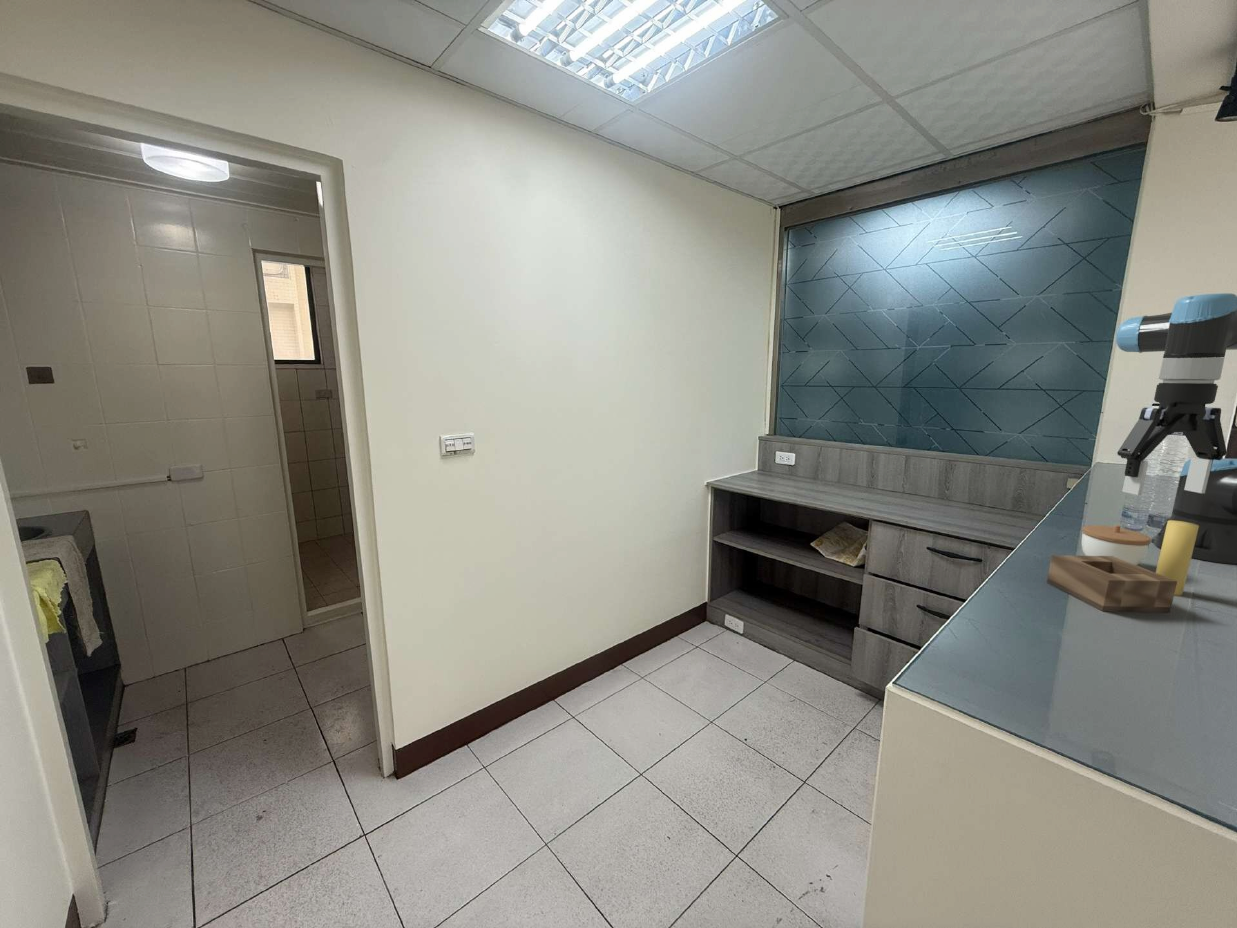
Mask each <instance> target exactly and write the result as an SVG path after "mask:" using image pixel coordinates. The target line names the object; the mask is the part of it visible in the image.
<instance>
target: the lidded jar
mask: <svg viewBox="0 0 1237 928" xmlns="http://www.w3.org/2000/svg"><path fill="white" fill-rule="evenodd" d="M1081 530H1082V531H1081V533H1082V534H1081V549H1082V552H1083V553H1084V556H1113V557H1116V558H1118V559H1121V560H1124V561H1126V562H1129V563H1131V564H1134V565H1136V566H1139V565H1140V563H1142V561H1144V559H1145V557H1146V555H1147V553H1148V551H1149V548H1150V547H1149V546H1150V545H1151V542H1152V538H1151V537H1150V536H1148V535H1147V534H1144V533H1141V532H1138V531H1134V530H1130V529H1126V528H1122V527H1121V525H1119V524H1114V525H1113V526H1108V525H1099V524H1098V525H1095V524H1093V525H1092V524H1091V525H1085V526H1083V527H1082V529H1081Z"/></svg>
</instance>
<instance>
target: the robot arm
mask: <svg viewBox="0 0 1237 928" xmlns="http://www.w3.org/2000/svg"><path fill="white" fill-rule="evenodd" d="M1115 335H1116V338H1115V342H1116V346H1117V347H1118V348H1119V349H1120V350H1121V351H1122V352H1127V353H1138V354H1139V353H1140V354H1141V353H1150V352H1151V353H1152V352H1154V353H1155V352H1164V353H1163V356H1162V362H1161V366H1160V371H1159V375H1158V376H1159V377H1158V379H1159V380H1161V381H1162V382H1158V384H1156V387H1155V388H1156V389H1155V392H1154V393H1155V394H1154V398H1153V400H1154V402H1155V403H1159V406H1158V407H1157V408H1155V407H1143V408H1142V409H1141V411H1140V414H1139V417H1138V420H1137V422H1136V423H1135V425H1134V426H1133V427H1132V429H1131V431H1130V432H1129V434H1128V435H1127V436H1126V438H1125V439H1124V441H1123V443H1122V444H1121V446H1120V447H1119V449H1118V451H1117V453H1116V455H1117V456H1119V457H1120V458H1121V459H1126V463H1125V464H1126V465H1125V469H1124V476H1125V477H1124V481H1123V487H1122V492H1123V493H1127V494H1131V495H1135V496H1136V495H1137V496H1142V494H1143V491H1144V490H1143V488H1144V483H1145V481H1146V480H1145V479H1146V475H1147V471H1148V470H1147V469H1148V464H1149V461H1148V460H1147V461H1146V460H1145V459H1147V457H1149V456H1150V454H1151V453H1152V452H1153V451H1154V450H1155V449H1156V448H1157V447H1158V446H1160V445H1161V443H1162V442H1163V441H1164V440H1165V439H1166V438H1167V437H1168V436H1169V435H1173V434H1174V433H1183V435H1184V436H1185V438H1186V439H1187V442H1188V443H1189V446H1190V447H1191V449H1192V450H1193V453H1194V455H1195V456H1196V457H1191V458H1190V459H1188V460H1186V461H1185V462H1184V463H1183V466H1182V469H1181V471H1180V474H1179V475H1178V478H1179V479H1178V484H1177V489H1176V491H1175V497H1174V503H1173V507H1172V511H1171V515H1170V517H1169V518H1168V519H1167V521H1166V522H1165V523H1164V525H1163V526H1162V527H1161V529H1160V531H1159V532H1158V533H1157V534H1156V535H1155V539H1154V543H1153V544H1154V545H1155V547H1157V548H1160V549H1161V548H1162V544H1163V539H1164V535H1165V531H1166V526H1167V522H1168V521H1169V520H1174V521H1183V522H1188V523H1193V524H1196V525H1198V526H1199V528H1198V532H1197V536H1196V540H1195V544H1194V548H1193V553H1192V557H1191V559H1192V558H1193V559H1196V560H1201V561H1203V560H1204V561H1207V562H1214V563H1221V564H1232V565H1233V564H1234V565H1237V458H1226V457H1225V458H1223V457H1224V456H1226V455H1227V452H1228V451H1227V446H1226V442H1225V437H1224V432H1223V427H1222V423H1221V414H1222V409H1221V407H1210V406H1208V407H1207V406H1206V405H1210V404H1213V403H1214V402H1215V401H1216V397H1217V393H1218V388H1219V385H1218V384H1217V383H1215V381H1219V380H1221V377H1222V372H1223V369H1224V368H1223V367H1224V363H1225V357H1226V352H1227V351H1228V350H1229V351H1230V350H1232V351H1233V350H1237V294H1234V293H1229V292H1228V293H1227V292H1226V293H1208V294H1196V295H1189V296H1184V297H1180V298H1179V299H1178V300H1177V301H1176V302H1175V303H1174V306H1173V308H1172V312H1168V313H1163V314H1154V315H1143V316H1137V317H1136V316H1135V317H1130V318H1128V319H1126V320H1125V321H1123V322H1122V323H1121V324H1120V326H1119V327H1118V329H1117V331H1116V334H1115Z"/></svg>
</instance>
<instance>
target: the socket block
mask: <svg viewBox="0 0 1237 928" xmlns="http://www.w3.org/2000/svg"><path fill="white" fill-rule="evenodd" d="M1046 584H1048V585H1050V586H1052V587H1054V588H1056V589H1058V590H1060V591H1062V592H1064V593H1066V594H1067V595H1070V596H1072V597H1074V598H1075V599H1077V600H1080V601H1082V602H1084V603H1086V604H1088V605H1089V606H1092V607H1093V608H1096V609H1097V610H1099V611H1101V612H1133V613H1134V612H1136V613H1171V611H1172V610H1171V609H1172V605H1173V601H1174V596H1175V595H1174V593H1175V589H1176V585H1177V581H1175V580H1173V579H1170V578H1167V577H1165V576H1162V575H1160V574H1157V573H1156V571H1155V572H1154V571H1152V570H1150V569H1146V568H1144V567H1142V566H1139V565H1134V564H1131V563H1129V562H1126V561H1124V560H1121V559H1118V558H1116V557H1113V556H1086V555H1067V554H1066V555H1061V554H1059V555H1057V554H1055V555H1051V558H1050V563H1049V569H1048V575H1047V581H1046Z"/></svg>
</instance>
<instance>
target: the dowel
mask: <svg viewBox="0 0 1237 928" xmlns="http://www.w3.org/2000/svg"><path fill="white" fill-rule="evenodd" d="M1168 520H1169V519H1168ZM1168 520H1167V521H1168ZM1167 521H1166V522H1167ZM1198 528H1199V526H1198V525H1196V524H1193V523H1188V522H1183V521H1174V520H1169V521H1168V522H1167V526H1166V531H1165V535H1164V539H1163V544H1162V548H1160V553H1159V557H1158V561H1157V565H1156V570H1155V573H1157V574H1160V575H1162V576H1165V577H1167V578H1170V579H1173V580H1175V581H1177V585H1176V589H1175V593H1174V596H1178V597H1180V596H1182V595H1183V592H1184V588H1185V585H1186V580H1187V576H1188V573H1189V569H1190V566H1191V560H1192V558H1191V557H1192V553H1193V548H1194V544H1195V540H1196V536H1197V532H1198Z"/></svg>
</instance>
